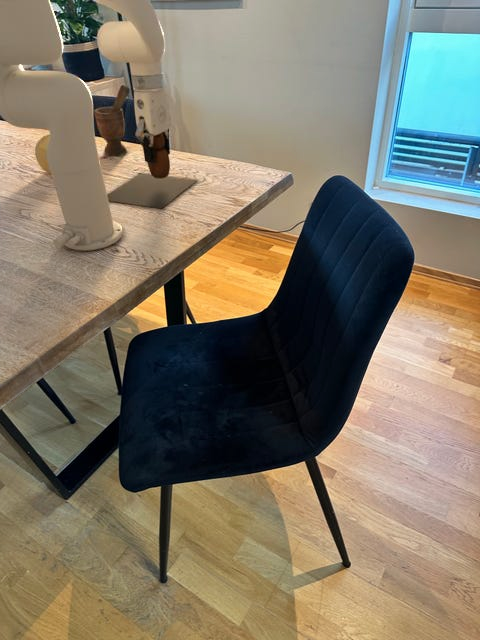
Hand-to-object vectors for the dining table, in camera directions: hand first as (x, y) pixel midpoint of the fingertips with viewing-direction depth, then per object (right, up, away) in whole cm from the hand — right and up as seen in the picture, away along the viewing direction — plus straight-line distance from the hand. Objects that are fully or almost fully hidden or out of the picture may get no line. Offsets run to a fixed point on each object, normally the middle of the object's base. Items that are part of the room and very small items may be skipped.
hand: (157, 157), depth 115 cm
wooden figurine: (0, -4, +3) cm, 5 cm away
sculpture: (-31, +1, +13) cm, 34 cm away
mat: (-2, -9, 0) cm, 9 cm away
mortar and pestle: (-17, +11, +27) cm, 34 cm away
